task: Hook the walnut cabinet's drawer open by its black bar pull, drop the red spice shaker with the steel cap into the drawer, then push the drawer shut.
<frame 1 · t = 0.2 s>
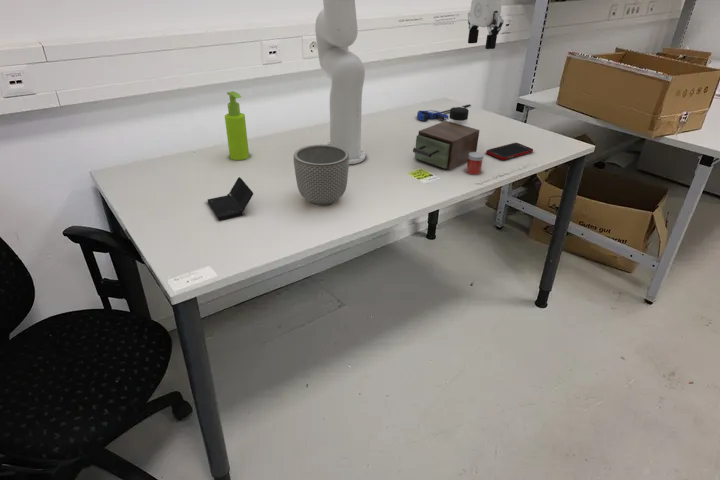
hand: (481, 45, 152), 31 cm above the table, tool pointing down, fingers open, 9 cm apart
soap dispenser: (240, 157, 153), on the table
cell phone: (509, 153, 160), on the table
medicine bottle: (455, 143, 167), on the table
drawer: (438, 148, 150), point 5 cm above the table, slide at 0.5 cm
bar clamp: (448, 113, 196), on the table
cabinet: (446, 158, 155), on the table
shaker: (473, 171, 147), on the table
handheld gaming console: (231, 208, 125), on the table
planter: (322, 201, 129), on the table
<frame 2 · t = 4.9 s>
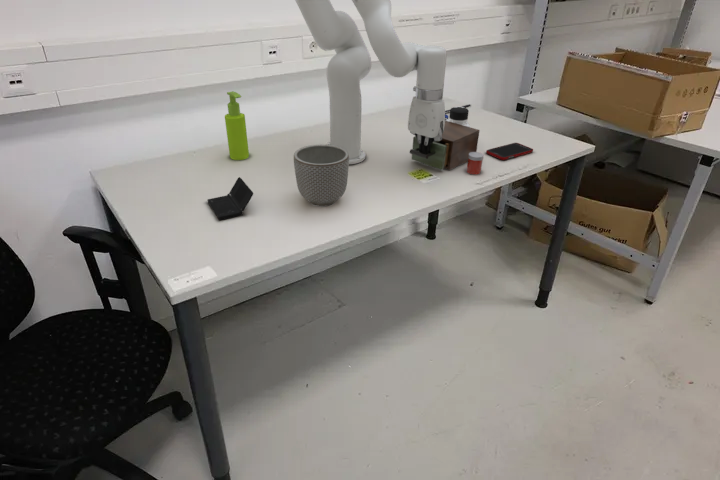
hand: (424, 156, 145), 4 cm above the table, tool pointing down, fingers closed
drawer: (435, 149, 149), point 5 cm above the table, slide at 2.1 cm, touching gripper
everything else where it was.
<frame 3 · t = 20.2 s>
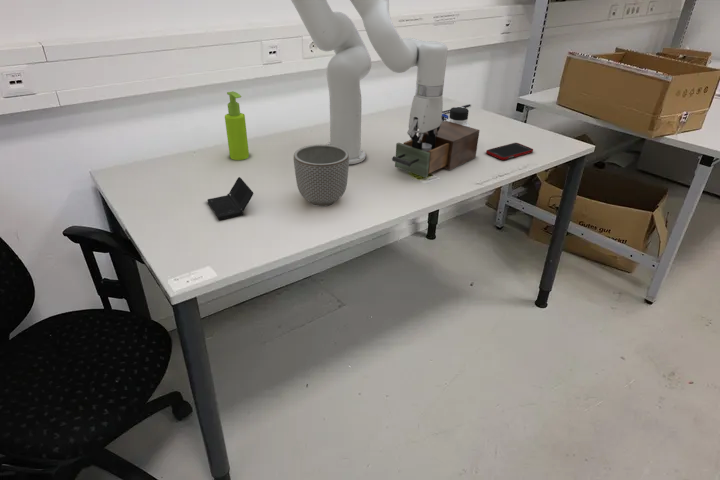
hand: (423, 151, 145), 6 cm above the table, tool pointing down, fingers open, 5 cm apart
drawer: (419, 156, 144), point 5 cm above the table, slide at 10.1 cm, touching gripper, shaker
shaker: (422, 162, 147), point 2 cm above the table, touching drawer
everything else where it was.
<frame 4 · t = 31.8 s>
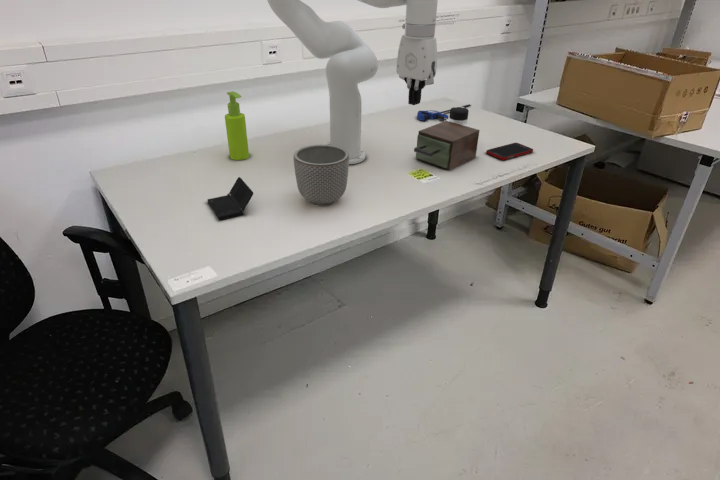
hand: (414, 103, 132), 21 cm above the table, tool pointing down, fingers closed
drawer: (439, 147, 150), point 5 cm above the table, slide at 0.0 cm, touching cabinet, shaker
shaker: (442, 154, 153), point 2 cm above the table, touching drawer
everything else where it was.
at the end: drawer pulled out 10.2 cm at the most during the clip, back to where it started at the end; shaker 2.3 cm from the cabinet (horizontally); drawer slide at 0.0 cm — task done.
